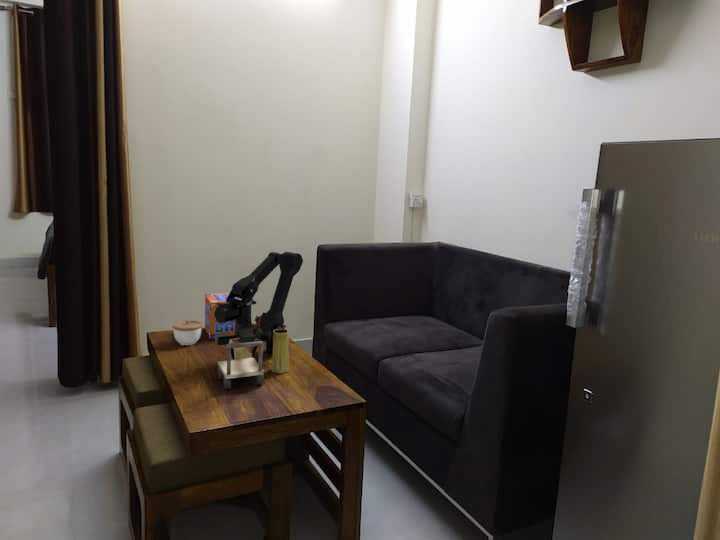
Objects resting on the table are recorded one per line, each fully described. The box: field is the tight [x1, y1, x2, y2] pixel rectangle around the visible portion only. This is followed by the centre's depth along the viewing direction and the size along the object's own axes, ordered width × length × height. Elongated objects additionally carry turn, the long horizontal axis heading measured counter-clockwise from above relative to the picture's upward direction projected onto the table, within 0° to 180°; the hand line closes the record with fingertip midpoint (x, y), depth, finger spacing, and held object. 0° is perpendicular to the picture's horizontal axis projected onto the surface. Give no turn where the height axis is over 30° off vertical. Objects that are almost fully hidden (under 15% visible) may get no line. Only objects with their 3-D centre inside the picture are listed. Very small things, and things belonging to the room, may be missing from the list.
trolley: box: [217, 341, 265, 390], centre depth 174 cm, size 12×13×15 cm
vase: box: [270, 328, 290, 374], centre depth 185 cm, size 6×6×14 cm
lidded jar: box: [172, 319, 203, 347], centre depth 210 cm, size 11×11×9 cm
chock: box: [234, 347, 252, 360], centre depth 192 cm, size 4×8×4 cm, turn 30°
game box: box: [204, 292, 241, 340], centre depth 225 cm, size 16×16×16 cm
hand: (242, 359), depth 192 cm, fingers open, 6 cm apart
